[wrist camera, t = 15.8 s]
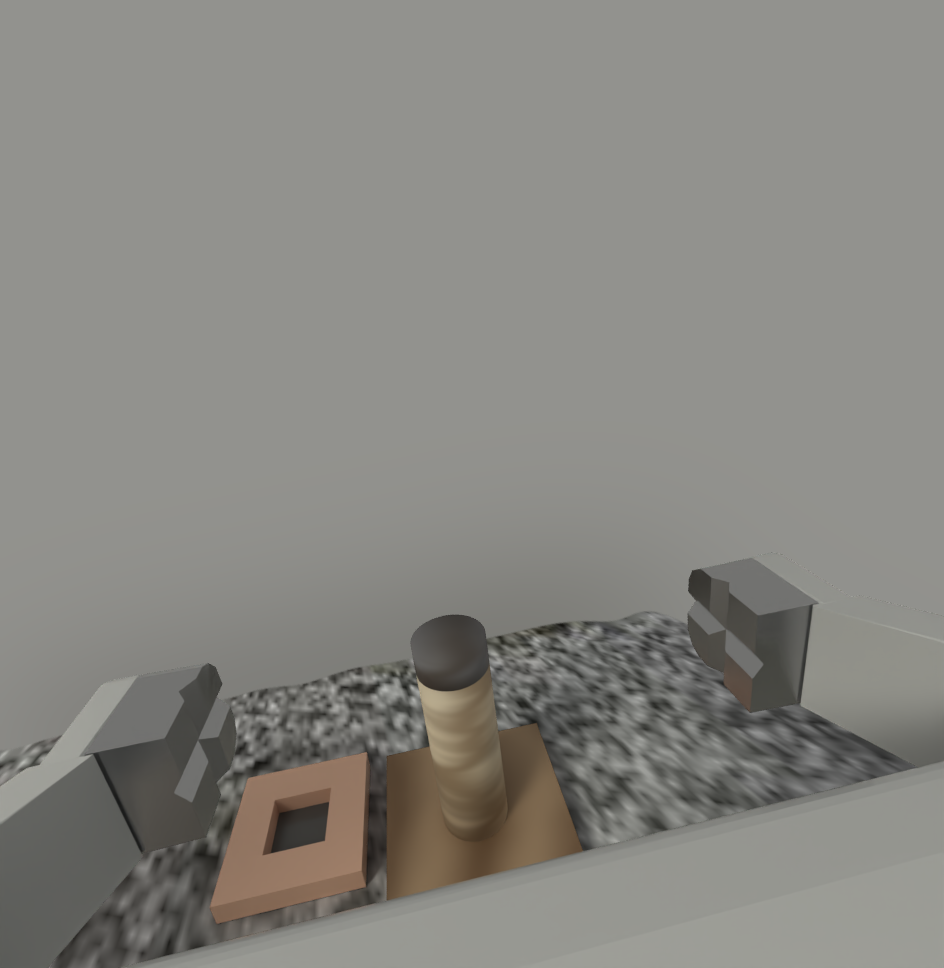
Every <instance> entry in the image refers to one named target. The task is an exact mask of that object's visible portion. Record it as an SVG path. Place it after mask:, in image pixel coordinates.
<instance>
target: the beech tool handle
mask: <svg viewBox="0 0 944 968" xmlns="http://www.w3.org/2000/svg"><path fill="white" fill-rule="evenodd" d="M411 649H412V655H413V660H414V665H415V670H416V676H417V681H418V686H419V691H420V697H421V702H422V707H423V713H424V718H425V723H426V728H427V734H428V739H429V744H430V750H431V755H432V760H433V765H434V771H435V776H436V781H437V787H438V792H439V797H440V802H441V808H442V813H443V818H444V822H445V825H446V827H447V829H448V830H449V831H450V832H451V834H452V835H454V836H455V837H457V838H459V839H461V840H463V841H468V842H477V841H482V840H485V839H488V838H490V837H491V836H493V835H494V834H495V833H497V832H498V831H499V830H500V828H501V827H502V826H503V824H504V822H505V820H506V817H507V812H508V805H507V797H506V789H505V781H504V773H503V766H502V758H501V750H500V742H499V735H498V727H497V719H496V711H495V704H494V696H493V688H492V680H491V672H490V665H489V657H488V649H487V641H486V634H485V629H484V627H483V626H482V624H481V623H480V622H479V621H477V620H476V619H474V618H471V617H469V616H464V615H446V616H442V617H438V618H435V619H432V620H430V621H428V622H426V623H424V624H423V625H421V626H420V627H419V628H418V629H417V630H416V631H415V632H414V634H413V636H412V638H411Z"/></svg>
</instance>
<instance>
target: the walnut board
mask: <svg viewBox="0 0 944 968" xmlns="http://www.w3.org/2000/svg"><path fill="white" fill-rule="evenodd" d="M498 735H499V742H500V750H501V758H502V766H503V773H504V781H505V789H506V797H507V805H508V812H507V817H506V820H505V822H504V824H503V826H502V827H501V828H500V830H499V831H498V832H497V833H495V834H494V835H493V836H491V837H490V838H488V839H485V840H482V841H477V842H468V841H463V840H461V839H459V838H457V837H455V836H454V835H452V834H451V832H450V831H449V830H448V829H447V827H446V825H445V822H444V818H443V813H442V808H441V802H440V797H439V792H438V787H437V781H436V776H435V771H434V765H433V760H432V755H431V750H430V747H425V748H421V749H416V750H412V751H407V752H403V753H398V754H394V755H389V756H387V900H391V899H395V898H399V897H403V896H407V895H411V894H415V893H419V892H423V891H427V890H431V889H435V888H439V887H443V886H447V885H451V884H455V883H459V882H463V881H467V880H471V879H475V878H479V877H483V876H487V875H491V874H495V873H499V872H503V871H507V870H511V869H515V868H519V867H523V866H526V865H530V864H534V863H538V862H542V861H546V860H550V859H554V858H558V857H562V856H566V855H570V854H574V853H578V852H582V851H583V849H582V847H581V844H580V841H579V838H578V836H577V833H576V830H575V827H574V825H573V822H572V819H571V816H570V814H569V811H568V808H567V805H566V803H565V800H564V797H563V794H562V792H561V789H560V786H559V783H558V781H557V778H556V775H555V772H554V770H553V767H552V764H551V761H550V759H549V756H548V753H547V750H546V748H545V745H544V742H543V739H542V737H541V734H540V731H539V728H538V726H537V723H534V724H530V725H525V726H521V727H516V728H511V729H507V730H502V731H498Z"/></svg>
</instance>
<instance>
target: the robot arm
mask: <svg viewBox="0 0 944 968" xmlns="http://www.w3.org/2000/svg"><path fill="white" fill-rule="evenodd" d="M688 591H689V593H690V594H691V595H692V596H693V597H694V599H695V600H696V602H695V603H694V605H693V606H692V608H691V609H690V611H689V612H688V632H689V635H690V638H691V642H692V645H693V647H694V649H695V650H696V652H697V654H698V656H699V657H700V658H701V659H702V660H703V661H704V663H705V664H706V665H707V666H709V667H711V668H713V669H716V670H718V671H720V672H723V673H724V685H725V686H726V687H727V688H728V689H729V690H730V692H731V693H732V694H733V695H734V696H735V697H736V698H737V699H738V700H739V701H740V703H741V704H742V705H743V706H744V707H745V708H746V709H747V710H748V711H749V712H750V713H752V712H757V711H762V710H767V709H772V708H778V707H783V706H788V705H793V704H798V703H801V704H800V706H802V707H804V708H806V709H808V710H810V711H811V712H813V713H815V714H817V715H819V716H821V717H823V718H825V719H827V720H829V721H831V722H832V723H834V724H836V725H838V726H840V727H842V728H844V729H846V730H848V731H850V732H852V733H853V734H855V735H857V736H859V737H861V738H863V739H865V740H867V741H869V742H871V743H873V744H874V745H876V746H878V747H880V748H882V749H884V750H886V751H888V752H890V753H892V754H894V755H895V756H897V757H899V758H901V759H903V760H905V761H907V762H909V763H911V764H913V765H915V766H917V767H918V768H914V769H910V770H906V771H902V772H898V773H894V774H890V775H886V776H882V777H878V778H874V779H870V780H866V781H862V782H858V783H854V784H850V785H846V786H842V787H838V788H834V789H830V790H826V791H822V792H818V793H814V794H810V795H806V796H802V797H798V798H794V799H790V800H786V801H782V802H778V803H774V804H770V805H766V806H762V807H758V808H754V809H750V810H746V811H742V812H738V813H734V814H730V815H726V816H722V817H718V818H714V819H710V820H706V821H702V822H698V823H694V824H690V825H686V826H682V827H678V828H674V829H670V830H666V831H662V832H658V833H654V834H650V835H646V836H642V837H638V838H634V839H630V840H626V841H622V842H618V843H614V844H610V845H606V846H602V847H598V848H594V849H590V850H586V851H582V852H578V853H574V854H570V855H566V856H562V857H558V858H554V859H550V860H546V861H542V862H538V863H534V864H530V865H526V866H523V867H519V868H515V869H511V870H507V871H503V872H499V873H495V874H491V875H487V876H483V877H479V878H475V879H471V880H467V881H463V882H459V883H455V884H451V885H447V886H443V887H439V888H435V889H431V890H427V891H423V892H419V893H415V894H411V895H407V896H403V897H399V898H395V899H391V900H387V901H383V902H379V903H375V904H371V905H367V906H363V907H359V908H355V909H351V910H347V911H343V912H339V913H335V914H331V915H327V916H323V917H319V918H315V919H311V920H307V921H303V922H299V923H295V924H291V925H287V926H283V927H279V928H275V929H271V930H267V931H263V932H259V933H255V934H251V935H247V936H243V937H239V938H235V939H231V940H227V941H223V942H220V943H216V944H212V945H208V946H204V947H200V948H196V949H192V950H188V951H184V952H180V953H176V954H172V955H168V956H164V957H160V958H156V959H152V960H148V961H144V962H140V963H136V964H132V965H128V966H124V967H120V968H944V616H942V615H938V614H934V613H929V612H926V611H921V610H917V609H913V608H909V607H905V606H901V605H897V604H893V603H888V602H885V601H881V600H877V599H872V598H868V597H864V596H855V597H850V596H849V595H847V594H846V593H844V592H842V591H841V590H839V589H837V588H836V587H834V586H833V585H831V584H829V583H827V582H826V581H824V580H823V579H821V578H819V577H818V576H816V575H814V574H813V573H811V572H810V571H808V570H806V569H805V568H803V567H801V566H800V565H798V564H796V563H795V562H793V561H792V560H790V559H788V558H787V557H785V556H783V555H782V554H778V553H767V554H763V555H759V556H754V557H750V558H746V559H743V560H738V561H734V562H729V563H725V564H720V565H715V566H710V567H706V568H701V569H696V570H692V572H691V575H690V577H689V588H688ZM221 686H222V682H221V679H220V677H219V674H218V672H217V669H216V667H215V666H213V665H211V664H209V663H206V664H200V665H194V666H189V667H183V668H177V669H171V670H166V671H159V672H154V673H148V674H144V675H136V676H131V677H126V678H121V679H116V680H111V681H109V682H107V683H105V684H102V685H101V686H100V688H99V689H98V690H97V692H96V693H95V694H94V695H93V697H92V698H91V699H90V701H89V702H88V703H87V704H86V706H85V707H84V708H83V710H82V711H81V712H80V713H79V715H78V716H77V717H76V719H75V720H74V721H73V723H72V724H71V725H70V726H69V728H68V729H67V730H66V732H65V733H64V734H63V736H62V737H61V738H60V739H59V741H58V742H57V743H56V745H55V746H54V747H53V748H52V750H51V751H50V752H49V754H48V755H47V756H46V758H45V759H44V760H43V761H42V763H41V764H40V765H38V766H34V767H29V768H26V769H25V770H23V771H22V772H21V773H19V774H18V775H16V776H15V777H13V778H12V779H10V780H9V781H7V782H6V783H5V784H3V785H2V786H0V968H48V967H49V966H50V964H51V963H52V962H53V961H54V960H55V959H56V957H57V956H58V955H59V954H60V953H61V952H62V950H63V949H64V948H65V947H66V946H67V945H68V944H69V942H70V941H71V940H72V939H73V938H74V937H75V935H76V934H77V933H78V932H79V931H80V930H81V928H82V927H83V926H84V925H85V924H86V923H87V921H88V920H89V919H90V918H91V917H92V916H93V914H94V913H95V912H96V911H97V910H98V909H99V907H100V906H101V905H102V904H103V903H104V902H105V900H106V899H107V898H108V897H109V896H110V895H111V894H112V892H113V891H114V890H115V889H116V888H117V887H118V885H119V884H120V883H121V882H122V881H123V880H124V878H125V877H126V876H127V875H128V874H129V873H130V871H131V870H132V869H133V868H134V867H135V866H136V864H137V863H138V862H139V861H140V860H141V859H142V857H143V855H142V854H143V853H147V852H151V851H155V850H158V849H162V848H166V847H170V846H174V845H178V844H182V843H186V842H189V841H193V840H197V839H201V838H205V837H206V836H207V834H208V831H209V828H210V825H211V822H212V819H213V816H214V813H215V811H216V808H217V805H218V802H219V799H220V796H221V794H220V791H219V788H218V786H217V783H216V782H217V781H218V780H219V779H220V778H221V777H222V776H223V775H224V774H225V773H226V772H227V771H228V770H229V769H230V767H231V764H232V761H233V757H234V754H235V746H236V734H237V733H236V726H235V719H234V716H233V713H232V710H231V707H230V706H229V705H228V704H226V703H225V702H223V701H222V700H220V699H219V698H217V695H218V693H219V691H220V688H221Z"/></svg>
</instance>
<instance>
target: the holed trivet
mask: <svg viewBox="0 0 944 968" xmlns="http://www.w3.org/2000/svg"><path fill="white" fill-rule="evenodd" d="M369 791H370V763H369V759H368V755H367V752H365V753H361V754H356V755H352V756H347V757H342V758H338V759H333V760H329V761H324V762H320V763H315V764H310V765H306V766H301V767H297V768H292V769H288V770H283V771H278V772H274V773H269V774H265V775H260V776H256V777H251V778H248V780H247V783H246V786H245V790H244V793H243V797H242V800H241V803H240V807H239V810H238V813H237V817H236V820H235V824H234V827H233V830H232V834H231V837H230V840H229V844H228V847H227V851H226V854H225V857H224V861H223V864H222V867H221V871H220V874H219V878H218V881H217V884H216V888H215V891H214V894H213V898H212V901H211V905H210V910H211V912H212V914H213V916H214V919H215V921H216V923H217V924H218V923H222V922H226V921H231V920H235V919H239V918H243V917H247V916H251V915H255V914H259V913H263V912H267V911H271V910H275V909H279V908H283V907H287V906H291V905H295V904H299V903H303V902H307V901H311V900H315V899H319V898H323V897H327V896H332V895H336V894H340V893H344V892H348V891H352V890H356V889H360V888H364V887H366V876H367V847H368V819H369Z"/></svg>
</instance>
